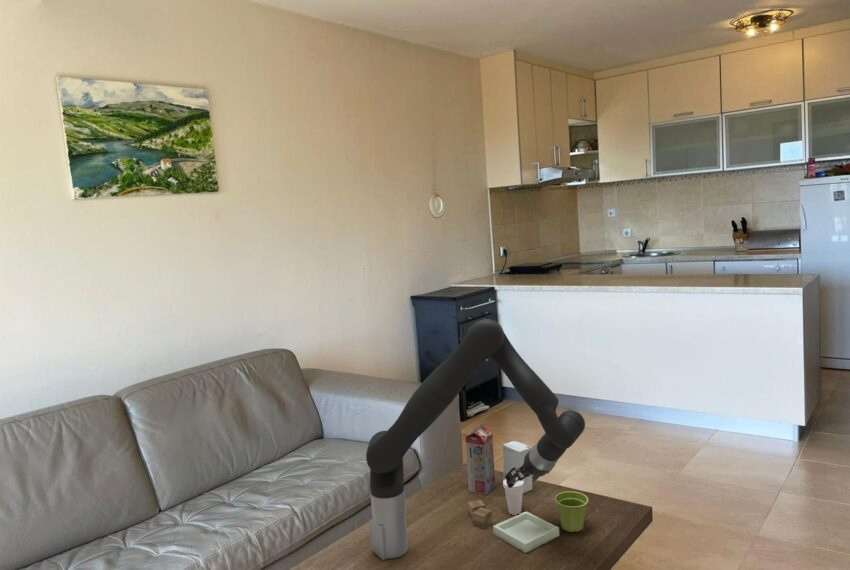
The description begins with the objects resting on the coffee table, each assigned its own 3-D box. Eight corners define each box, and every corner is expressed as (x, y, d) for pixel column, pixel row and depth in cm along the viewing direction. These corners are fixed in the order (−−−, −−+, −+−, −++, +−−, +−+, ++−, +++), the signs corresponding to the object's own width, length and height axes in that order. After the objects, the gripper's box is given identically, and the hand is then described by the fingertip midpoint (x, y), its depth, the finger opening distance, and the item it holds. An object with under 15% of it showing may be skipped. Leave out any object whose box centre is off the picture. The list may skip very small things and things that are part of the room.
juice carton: (495, 486, 210) (491, 422, 208) (486, 494, 205) (483, 429, 202) (477, 483, 214) (473, 420, 211) (468, 491, 208) (464, 427, 205)
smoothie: (524, 506, 195) (522, 463, 193) (526, 517, 189) (524, 472, 187) (504, 507, 196) (501, 464, 194) (504, 517, 189) (502, 472, 188)
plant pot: (595, 525, 181) (594, 496, 180) (578, 539, 174) (577, 509, 173) (566, 516, 188) (565, 488, 187) (549, 529, 181) (548, 500, 180)
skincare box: (503, 487, 209) (500, 444, 208) (516, 481, 213) (513, 439, 211) (521, 495, 203) (519, 451, 201) (534, 489, 206) (532, 445, 204)
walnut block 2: (484, 529, 183) (483, 516, 183) (473, 525, 186) (472, 512, 185) (492, 523, 186) (491, 510, 186) (480, 519, 189) (480, 507, 188)
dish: (525, 553, 169) (525, 544, 169) (493, 534, 180) (493, 526, 180) (559, 536, 177) (558, 527, 176) (526, 519, 187) (526, 511, 187)
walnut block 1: (473, 520, 189) (472, 507, 188) (468, 514, 193) (467, 502, 192) (485, 517, 190) (484, 505, 189) (481, 512, 194) (480, 499, 193)
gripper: (556, 439, 180) (535, 464, 192) (514, 450, 174) (495, 475, 186) (569, 463, 176) (546, 487, 188) (526, 475, 170) (505, 499, 182)
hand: (521, 481), depth 187 cm, fingers open, 8 cm apart
